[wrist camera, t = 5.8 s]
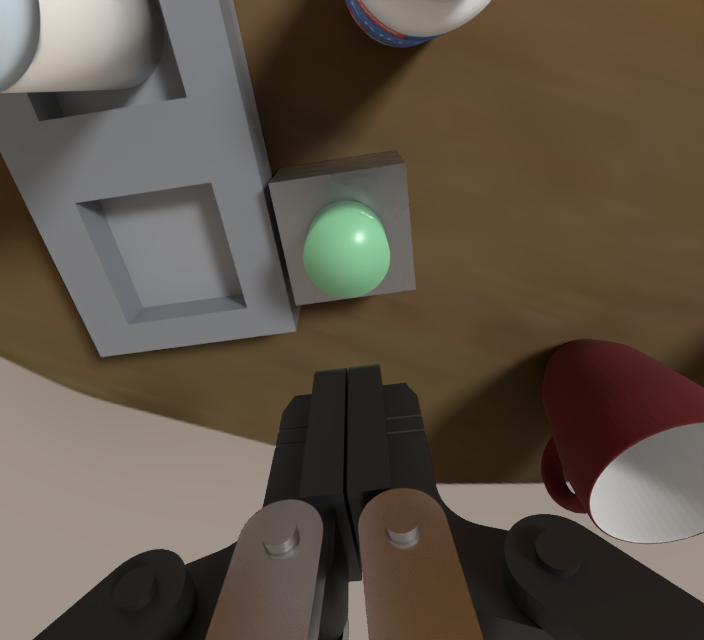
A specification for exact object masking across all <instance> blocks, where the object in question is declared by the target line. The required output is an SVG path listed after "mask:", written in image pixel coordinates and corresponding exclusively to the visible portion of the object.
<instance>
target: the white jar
mask: <svg viewBox="0 0 704 640" xmlns="http://www.w3.org/2000/svg"><path fill="white" fill-rule="evenodd" d="M163 42H164V32H163V24H162V19H161V15H160V12H159V9H158V6H157V3H156V1H155V0H0V93H26V92H59V91H92V90H121V89H128V88H132V87H135V86H137V85H139V84H141V83H142V82H144V81H145V80H146V79H148V78H149V77H150V76H151V74H152V73H153V72H154V71H155V69H156V67H157V65H158V63H159V61H160V58H161V54H162V50H163Z"/></svg>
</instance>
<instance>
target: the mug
mask: <svg viewBox="0 0 704 640" xmlns="http://www.w3.org/2000/svg"><path fill="white" fill-rule="evenodd" d="M542 401H543V407H544V411H545V415H546V418H547V421H548V424H549V427H550V430H551V433H552V437H551V438H550V440H549V441H548V443H547V445H546V447H545V449H544V452H543V456H542V461H541V471H542V477H543V481H544V484H545V487H546V489H547V491H548V493H549V495H550V496H551V497H552V499H553V500H554V501H555V502H556V503H558V504H559V505H560V506H562V507H563V508H565V509H567V510H569V511H572V512H575V513H584V514H585V513H588V515H589V517H590V518H591V520H592V521H593V523H594V524H595V525H596V526H597V527H598V528H599V529H600V530H601V531H602V532H604V533H605V534H607V535H609V536H611V537H613V538H616V539H619V540H622V541H626V542H631V543H639V544H657V543H667V542H673V541H678V540H682V539H686V538H690V537H693V536H696V535H699V534H701V533H704V388H703V387H701V386H700V385H698V384H696V383H695V382H693V381H691V380H689V379H688V378H686V377H684V376H683V375H681V374H679V373H677V372H676V371H674V370H672V369H670V368H669V367H667V366H665V365H663V364H662V363H660V362H658V361H656V360H655V359H653V358H651V357H649V356H648V355H646V354H644V353H642V352H640V351H638V350H636V349H634V348H632V347H629V346H626V345H623V344H619V343H614V342H608V341H601V340H592V339H580V340H575V341H571V342H569V343H567V344H565V345H563V346H561V347H560V348H558V349H557V350H556V351H555V352H554V353H553V354H552V355H551V357H550V359H549V360H548V362H547V365H546V369H545V374H544V380H543V387H542ZM563 469H564V471H565V474H566V476H567V478H568V480H569V482H570V484H571V486H572V488H573V490H574V491H575V494H573V493H572V492H571V491H570V489H569V488H568V486H567V485H566V482H565V480H564V475H563Z"/></svg>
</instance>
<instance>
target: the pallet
mask: <svg viewBox="0 0 704 640" xmlns="http://www.w3.org/2000/svg"><path fill="white" fill-rule="evenodd" d="M155 1H156V3H157V6H158V9H159V12H160V15H161V19H162V24H163V32H164V42H163V50H162V54H161V58H160V61H159V63H158V65H157V67H156V69H155V71H154V72H153V73H152V74H151V76H150V77H149V78H148V79H146V80H145V81H144V82H142V83H141V84H139V85H137V86H135V87H132V88H128V89H121V90H92V91H59V92H26V93H0V153H1V155H2V157H3V159H4V161H5V163H6V165H7V167H8V169H9V171H10V173H11V175H12V177H13V179H14V181H15V183H16V185H17V187H18V189H19V191H20V193H21V195H22V197H23V200H24V202H25V204H26V206H27V208H28V210H29V212H30V214H31V216H32V218H33V220H34V222H35V224H36V226H37V228H38V230H39V232H40V234H41V236H42V238H43V240H44V242H45V244H46V246H47V248H48V250H49V252H50V254H51V256H52V258H53V260H54V263H55V265H56V267H57V269H58V271H59V273H60V275H61V277H62V279H63V281H64V283H65V285H66V287H67V289H68V291H69V293H70V295H71V297H72V299H73V301H74V303H75V305H76V307H77V309H78V311H79V313H80V315H81V317H82V319H83V321H84V324H85V326H86V328H87V330H88V332H89V334H90V336H91V338H92V340H93V342H94V344H95V346H96V348H97V350H98V352H99V354H100V356H101V357H106V356H113V355H121V354H129V353H136V352H144V351H151V350H159V349H166V348H174V347H182V346H189V345H197V344H204V343H212V342H219V341H227V340H235V339H242V338H250V337H257V336H265V335H272V334H280V333H288V332H295V331H296V329H297V324H298V319H299V313H300V308H301V305H297V306H296V304H295V299H294V295H293V291H292V286H291V282H290V277H289V273H288V269H287V264H286V260H285V255H284V251H283V246H282V242H281V238H280V233H279V229H278V224H277V220H276V216H275V211H274V207H273V202H272V198H271V193H270V189H269V185H268V183H269V182H270V181H271V179H272V174H271V169H270V165H269V160H268V156H267V151H266V147H265V142H264V138H263V133H262V128H261V124H260V119H259V115H258V110H257V106H256V101H255V97H254V92H253V88H252V83H251V79H250V74H249V70H248V65H247V61H246V56H245V52H244V47H243V42H242V38H241V33H240V29H239V24H238V20H237V15H236V11H235V6H234V2H233V0H155Z"/></svg>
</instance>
